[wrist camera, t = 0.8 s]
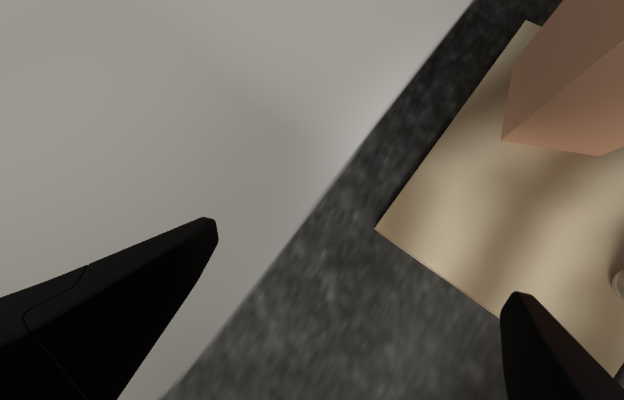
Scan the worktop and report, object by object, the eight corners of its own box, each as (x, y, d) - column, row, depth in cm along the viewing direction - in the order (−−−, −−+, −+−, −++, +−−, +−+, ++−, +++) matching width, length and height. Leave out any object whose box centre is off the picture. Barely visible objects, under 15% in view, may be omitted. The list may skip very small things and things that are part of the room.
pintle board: (754, 139, 19) (887, 100, 14) (591, 384, 18) (674, 430, 14) (519, 29, 23) (561, -31, 18) (373, 229, 22) (377, 222, 17)
